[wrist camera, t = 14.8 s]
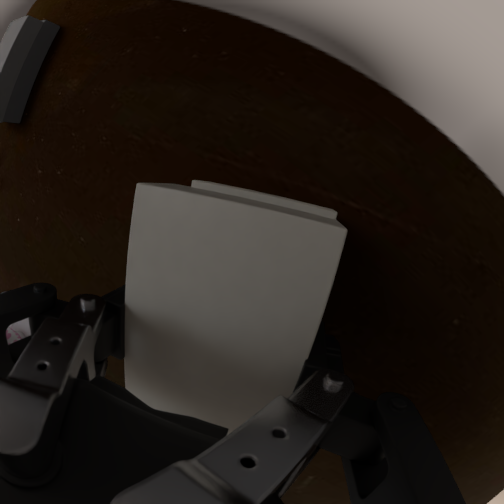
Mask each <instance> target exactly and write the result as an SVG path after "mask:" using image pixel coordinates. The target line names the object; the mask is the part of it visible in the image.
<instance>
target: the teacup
mask: <svg viewBox="0 0 504 504" xmlns="http://www.w3.org/2000/svg"><path fill="white" fill-rule="evenodd" d="M2 293H4V292H2ZM30 335H31V333H30V326H29V320H28V318H26V319H24V320H21V321H18V322H16V323H13V324H11V325H10V326H9V327H8V328H7V331H6V337H7V342H8V345H9V344H11V343H14V342H16V341H18V340H21V339H23V338H25V337H28V336H30Z"/></svg>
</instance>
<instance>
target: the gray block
mask: <svg viewBox="0 0 504 504" xmlns="http://www.w3.org/2000/svg"><path fill="white" fill-rule="evenodd" d="M59 28H60V26H58V25H56V24H54V23H52V22H50V21H48V20H42V21H40V20H38V19H36V18H33V17H31V16H29V15H28V16H25V17H22V18H20V19H17V20H14V21H12V22H11V23H10V25H9V27H8V29H7V31H6V33H5V35H4V37H3V39H2V41H1V43H0V122H12V123H20V121H21V118H22V115H23V112H24V109H25V106H26V103H27V100H28V97H29V94H30V92H31V89H32V86H33V84H34V81H35V79H36V76H37V74H38V71H39V69H40V67H41V65H42V62H43V60H44V58H45V56H46V54H47V52H48V49H49V47H50V45H51V43H52V41H53V40H54V38H55V36H56V34H57V32H58V30H59Z"/></svg>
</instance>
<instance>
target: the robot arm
mask: <svg viewBox="0 0 504 504" xmlns="http://www.w3.org/2000/svg"><path fill="white" fill-rule="evenodd" d="M125 287H126V284H125V285H123V286H122V287H119V288H117V289H116V290H114V291H112V292H110V293H108V294H106V295H104V296H102V297H99V296H97V295H93V294H81V295H77V296H75V297H73V298H72V299H71V300H70V302H66V301H62V300H58V299H57V291H56V288H55V287H54V286H53V285H51V284H48V283H34V284H31V285H27V286H24V287H20V288H17V289H14V290H10V291H7V292H4V293H1V294H0V504H284V503H283V502H282V500H281V499H280V498H281V497H282V496H283V495H284V494H285V493H286V491H287V490H288V489H289V488H290V486H291V485H292V484H293V483H294V481H295V480H296V479H297V478H298V476H299V475H300V474H301V473H302V472H303V470H304V469H305V468H306V467H307V465H308V464H309V463H310V462H311V460H312V459H313V458H314V456H315V455H316V454H317V453H318V451H319V450H320V449H321V448H322V449H325V450H327V451H330V452H332V453H335V454H337V455H340V456H342V462H343V467H344V471H345V476H346V481H347V486H348V490H349V495H350V500H351V504H466V503H465V501H464V499H463V497H462V494H461V492H460V490H459V488H458V486H457V484H456V482H455V480H454V478H453V476H452V474H451V472H450V470H449V468H448V466H447V464H446V462H445V460H444V458H443V456H442V454H441V452H440V451H439V449H438V447H437V445H436V443H435V441H434V439H433V437H432V436H431V434H430V432H429V430H428V428H427V427H426V425H425V423H424V421H423V419H422V418H421V416H420V414H419V412H418V411H417V409H416V407H415V405H414V404H413V403H412V402H411V401H410V400H409V399H408V398H407V397H405V396H403V395H401V394H398V393H394V392H386V393H383V394H381V395H380V396H379V397H378V399H377V400H376V401H373V400H371V399H368V398H365V397H363V396H360V395H359V394H357V393H355V392H354V383H353V381H352V380H351V379H350V378H349V377H348V376H347V375H345V374H344V370H343V364H342V358H341V352H340V345H339V342H338V341H337V340H336V339H335V337H334V336H332V335H327V334H325V327H324V322H323V321H321V323H320V326H319V329H318V332H317V334H316V337H315V340H314V343H313V346H312V349H311V351H310V354H309V357H308V359H305V362H304V365H303V367H302V370H301V373H300V375H299V378H298V380H297V383H296V385H295V388H294V391H293V393H292V394H291V395H290V396H289V397H288V398H286V397H284V396H282V395H279V396H277V397H275V398H274V399H273V400H272V401H271V402H269V403H268V404H267V405H266V406H265V407H263V408H262V409H261V410H260V411H258V412H257V413H256V414H255V415H253V416H252V417H251V418H249V419H248V420H247V421H246V422H244V423H243V424H242V425H240V426H239V427H238V428H236V429H235V430H234V431H232V432H231V433H229V434H228V435H227V433H228V430H229V429H228V428H225V427H222V426H219V425H215V424H212V423H209V422H206V421H203V420H200V419H198V418H195V417H191V416H186V415H180V414H175V413H170V412H165V411H160V410H156V409H153V408H151V407H150V406H148V405H147V404H145V403H144V402H143V401H141V400H140V399H139V398H137V397H136V396H135V395H133V394H132V393H131V392H129V391H128V390H127V389H125V388H123V387H121V386H119V385H117V384H115V383H113V382H111V381H110V380H108V379H106V378H104V377H105V373H106V369H107V365H108V360H107V357H108V356H109V355H111V356H114V357H116V358H118V359H120V360H122V359H123V358H124V357H125ZM26 318H28V320H29V326H30V333H31V335H30V336H28V337H25V338H23V339H21V340H18V341H16V342H14V343H11V344H9V345H8V342H7V337H6V331H7V328H8V327H9V326H10V325H11V324H13V323H16V322H18V321H21V320H24V319H26ZM385 457H386V458H385ZM386 460H387V461H386ZM387 462H388V463H387Z"/></svg>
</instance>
